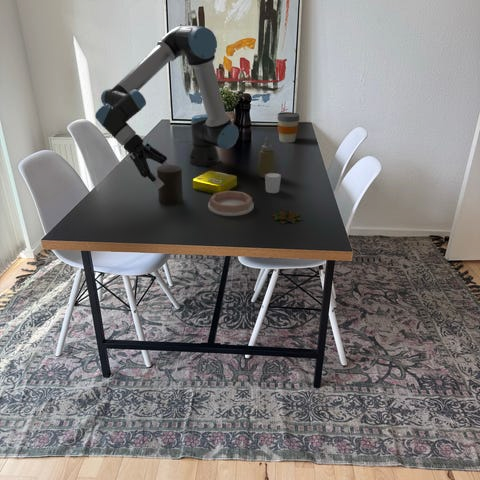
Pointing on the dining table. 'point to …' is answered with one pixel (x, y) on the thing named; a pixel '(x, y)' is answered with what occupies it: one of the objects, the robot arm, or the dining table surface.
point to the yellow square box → (214, 182)
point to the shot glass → (272, 182)
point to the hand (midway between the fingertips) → (168, 180)
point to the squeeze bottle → (266, 160)
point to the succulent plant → (290, 214)
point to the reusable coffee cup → (287, 126)
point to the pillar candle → (170, 184)
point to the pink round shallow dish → (231, 203)
